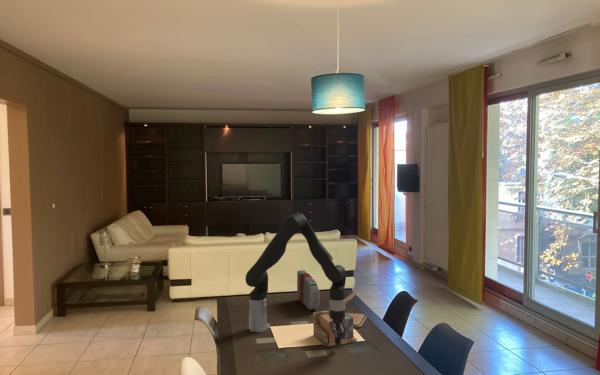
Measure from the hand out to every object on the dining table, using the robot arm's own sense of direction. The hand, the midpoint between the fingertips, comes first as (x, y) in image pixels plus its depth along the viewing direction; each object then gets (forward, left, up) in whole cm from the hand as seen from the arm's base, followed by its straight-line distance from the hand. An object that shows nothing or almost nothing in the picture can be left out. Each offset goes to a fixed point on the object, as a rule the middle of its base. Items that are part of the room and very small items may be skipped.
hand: (337, 343), depth 214 cm
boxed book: (0, +12, -2) cm, 12 cm away
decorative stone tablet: (+10, +69, -3) cm, 70 cm away
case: (+21, +36, -4) cm, 42 cm away
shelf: (+4, +14, -3) cm, 15 cm away
